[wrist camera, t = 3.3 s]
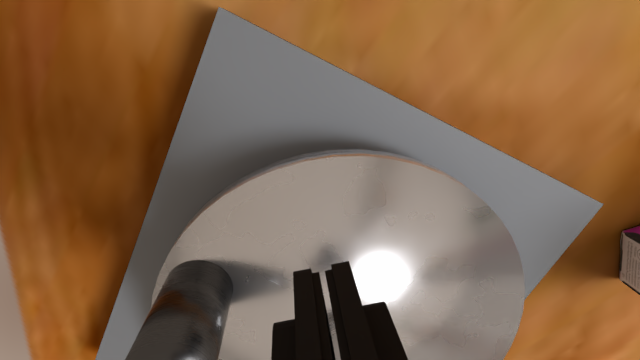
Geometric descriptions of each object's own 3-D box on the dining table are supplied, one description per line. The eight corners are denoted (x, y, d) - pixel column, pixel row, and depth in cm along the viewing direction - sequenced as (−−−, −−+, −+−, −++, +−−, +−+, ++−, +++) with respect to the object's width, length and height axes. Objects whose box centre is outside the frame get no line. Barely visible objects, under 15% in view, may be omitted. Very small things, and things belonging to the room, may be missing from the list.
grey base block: (227, 10, 18) (214, 4, 14) (572, 187, 23) (618, 212, 20) (107, 344, 25) (81, 389, 22) (392, 418, 31) (404, 462, 27)
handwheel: (572, 229, 20) (707, 320, 14) (396, 444, 26) (432, 578, 20) (241, 72, 15) (207, 97, 9) (121, 378, 21) (49, 525, 15)
